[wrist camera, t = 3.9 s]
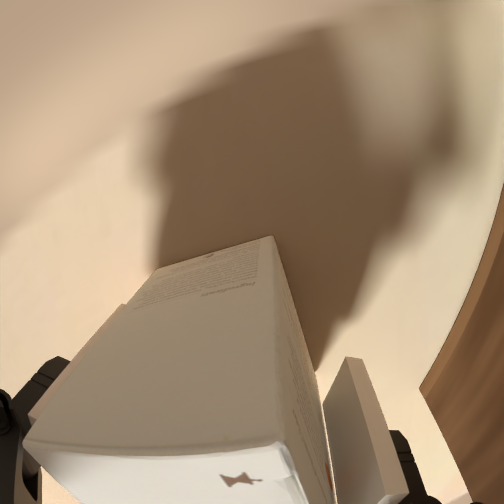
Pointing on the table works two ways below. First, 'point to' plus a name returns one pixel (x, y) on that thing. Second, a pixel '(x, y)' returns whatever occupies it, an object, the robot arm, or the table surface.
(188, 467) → the small box
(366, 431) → the robot arm
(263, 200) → the table surface
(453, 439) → the box
